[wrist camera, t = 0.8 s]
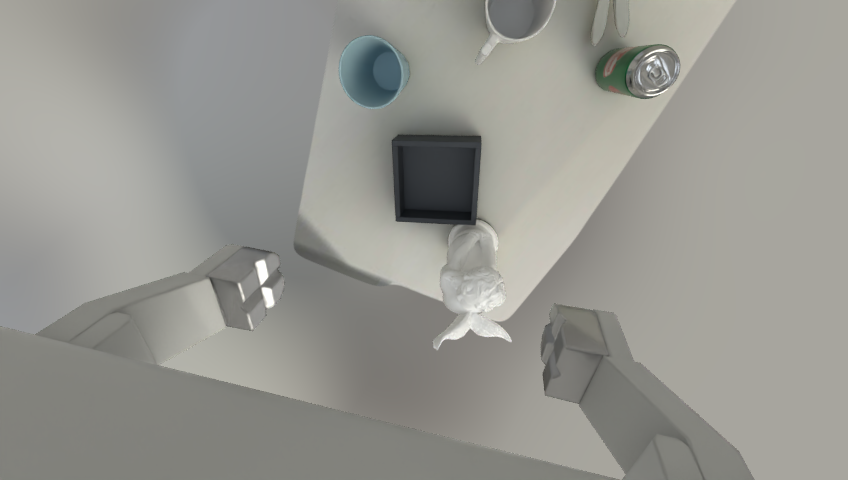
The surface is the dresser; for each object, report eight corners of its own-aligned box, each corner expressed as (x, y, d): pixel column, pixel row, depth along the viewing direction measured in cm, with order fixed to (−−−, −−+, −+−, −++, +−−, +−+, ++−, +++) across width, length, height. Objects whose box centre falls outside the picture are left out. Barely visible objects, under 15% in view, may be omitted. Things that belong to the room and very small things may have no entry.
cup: (361, 93, 51) (335, 100, 42) (367, 34, 47) (341, 28, 38) (411, 106, 51) (396, 115, 42) (421, 47, 47) (408, 43, 38)
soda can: (620, 38, 44) (666, 31, 33) (644, 69, 45) (695, 71, 34) (585, 71, 46) (618, 74, 35) (609, 99, 47) (647, 110, 36)
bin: (398, 134, 53) (391, 140, 49) (481, 136, 51) (481, 142, 47) (401, 210, 59) (395, 221, 55) (476, 214, 57) (475, 225, 53)
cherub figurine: (480, 203, 56) (480, 277, 37) (529, 253, 59) (553, 346, 40) (428, 246, 61) (404, 332, 42) (475, 290, 64) (474, 390, 45)
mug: (509, -31, 42) (519, -61, 31) (549, 8, 43) (572, -9, 33) (457, 46, 46) (450, 42, 36) (495, 79, 48) (499, 84, 37)
